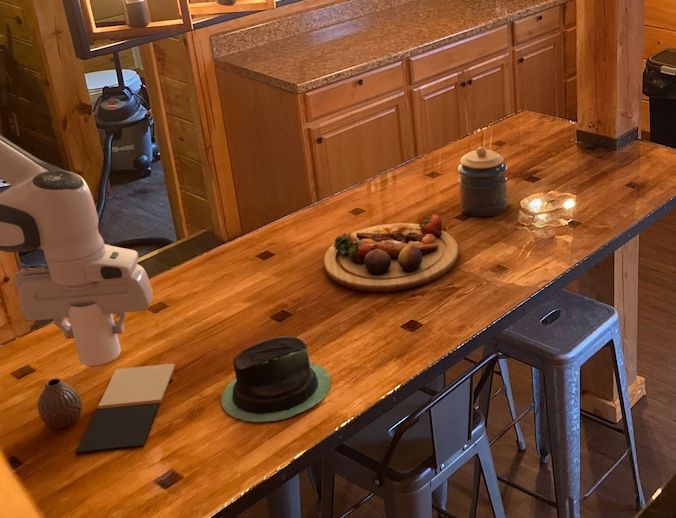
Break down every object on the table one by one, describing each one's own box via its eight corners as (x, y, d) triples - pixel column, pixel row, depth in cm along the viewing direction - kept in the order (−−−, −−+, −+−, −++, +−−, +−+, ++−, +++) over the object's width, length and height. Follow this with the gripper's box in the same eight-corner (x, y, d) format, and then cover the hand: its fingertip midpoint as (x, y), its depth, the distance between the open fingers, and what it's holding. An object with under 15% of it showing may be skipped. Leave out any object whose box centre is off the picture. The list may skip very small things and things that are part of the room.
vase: (93, 416, 175) (83, 376, 172) (60, 438, 169) (49, 397, 166) (68, 406, 178) (57, 367, 174) (34, 427, 172) (22, 387, 168)
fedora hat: (295, 342, 196) (356, 382, 184) (229, 416, 188) (288, 462, 176) (256, 302, 185) (317, 342, 174) (184, 378, 177) (243, 425, 166)
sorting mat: (76, 454, 165) (75, 451, 165) (116, 371, 188) (115, 368, 188) (143, 447, 167) (142, 444, 167) (175, 365, 190) (174, 362, 189)
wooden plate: (427, 220, 250) (424, 191, 247) (481, 270, 226) (480, 239, 223) (306, 251, 234) (302, 221, 231) (351, 308, 210) (347, 275, 206)
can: (89, 347, 169) (75, 288, 164) (127, 345, 170) (113, 287, 165) (73, 368, 163) (58, 308, 158) (112, 367, 164) (98, 307, 159)
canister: (508, 197, 264) (506, 137, 257) (507, 217, 252) (505, 155, 245) (461, 198, 263) (458, 138, 256) (458, 218, 251) (454, 157, 244)
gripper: (3, 279, 154) (24, 350, 160) (137, 268, 158) (153, 338, 163) (18, 260, 160) (37, 330, 166) (147, 250, 164) (161, 319, 169)
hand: (96, 334), depth 165 cm, fingers closed on can, 6 cm apart
